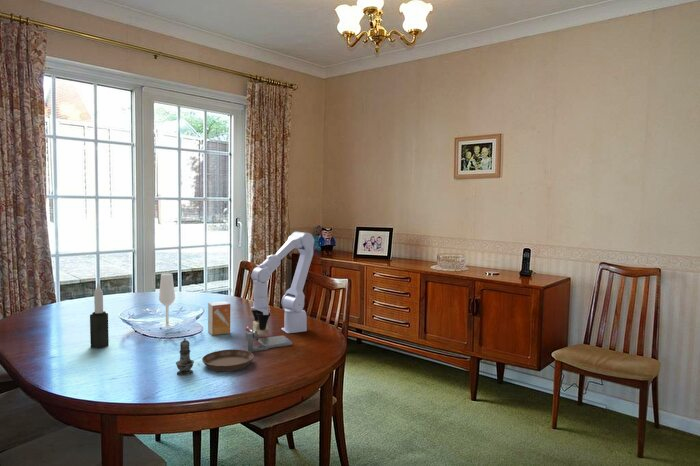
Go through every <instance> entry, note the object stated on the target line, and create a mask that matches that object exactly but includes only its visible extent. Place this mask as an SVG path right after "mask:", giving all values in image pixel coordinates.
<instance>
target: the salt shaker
mask: <svg viewBox="0 0 700 466" xmlns="http://www.w3.org/2000/svg"><path fill="white" fill-rule="evenodd" d="M178 352H179V357H180V358H179V360H177V361H176V362H175V365H176V367H177V370H178V371H176V375H178V376H181V377H185V376H190V375H192V374H193V373H194V370H193V369H192V368H193V366H194V363H195V360H193V359H191V356H190V354H191V353H190V352H192V351H191V350H190V341H189V340H187V339H186V337H184V339H183V340H182V341H180V350H179V351H178Z"/></svg>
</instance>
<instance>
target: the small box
mask: <svg viewBox="0 0 700 466" xmlns="http://www.w3.org/2000/svg"><path fill="white" fill-rule="evenodd" d="M207 333H208V334H210V335H211V336H217V335H224V334H226V335H227V334H231V303H230V302H228V301H227V300H223V301H222V300H221V301H213V302H207Z"/></svg>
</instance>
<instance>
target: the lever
mask: <svg viewBox="0 0 700 466" xmlns="http://www.w3.org/2000/svg"><path fill="white" fill-rule="evenodd" d="M245 331H246V332H252V333H253V340H254V339H255V340H256V339H259V338H258V337H259V335H258V332H257V331H253V328H252V327H251V326H246V327H245Z"/></svg>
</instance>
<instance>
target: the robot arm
mask: <svg viewBox="0 0 700 466" xmlns="http://www.w3.org/2000/svg"><path fill="white" fill-rule="evenodd" d="M314 244H315V238H314V236H313V234H312V233H310V232H303V231H302V232H301V231H297V230H296V231H293V232H292V233H291V235H289V236H288V237H287V240H286V241H285V243H283V245H282V246H281V247H280V248H279V249H278V250H277V252H275V254H270V255H267V256H266V259H265V260H264V261H263V262H262V263H260V264H259V265H258V266H257V267H254V268H253V270H252V271H251V273H250V278H251V279H252V281H253V303H252V305H253V306H250V309H251V314H252V316H253V317H254V318H253V319H254V321H258V320H259V327H260V330H265V329H266V325H267V322H268V321H269V319H270V316H271V313H270V312H269V305H268V297H269V296H268V289H269V288H268V285H269V283H268V281H269V280H270V279H271V275H272V273H274V271H276V269H277V268H279V266H280V265H281V260H283V258H285V257H286V256H287V255H288V254H289V253H290V252H291V251H293V249H297V250H298V253H299V257H298V262H297V263H296V264H297V265H296V268H295V272H294V275H293V279H292V282H291V285H290V288H288V289H286V291H285V293H284V295H283V296H282V298H281V306H282V308H283V310H284V317H283V318H284V319H283V320H284V327H281V328H280V329H281V330H282V331H283V332H285V333H286V334H296V333H303V332H307V331H308V329H307V322H308V321H307V320H308V319H307V317H308V316H307V312H306V310H305V309H304V307H305V298H306V296H305V293H304V291H303V290H304V288H305V287H304V286H305V284H306V280H307V277H308V273H309V269H310V266H311V263H312V260H313V257H314Z"/></svg>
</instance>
